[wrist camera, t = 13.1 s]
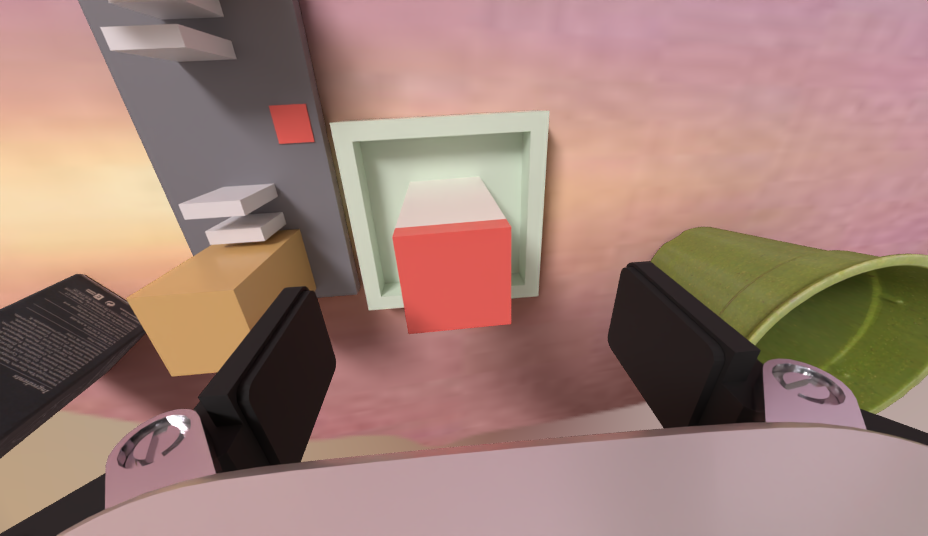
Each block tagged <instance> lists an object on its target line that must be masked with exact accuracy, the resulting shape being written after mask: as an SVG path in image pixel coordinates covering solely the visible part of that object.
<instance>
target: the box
mask: <svg viewBox="0 0 928 536" xmlns="http://www.w3.org/2000/svg"><path fill="white" fill-rule="evenodd" d="M145 333H146V332H145V330H144V328H143V327H142V325H141V323H140V322H139V320H138V318H137V316H136V315H135V313H134V311H133V310H132V308H131V306H130V305H129V303H128V302H127V301H125V300H123V299H122V298H120V297H119V296H117V295H115V294H114V293H112V292H111V291H109V290H107V289H106V288H104V287H102V286H101V285H99V284H98V283H96V282H94V281H93V280H91V279H89V278H88V277H87V276H85V275H83V274H75V275H73V276H71V277H69V278H67V279H64V280H62V281H60V282H58V283H56V284H54V285H52V286H49V287H47V288H45V289H43V290H41V291H39V292H37V293H35V294H32V295H30V296H28V297H26V298H24V299H22V300H19V301H17V302H15V303H13V304H11V305H9V306H6V307H4V308H2V309H0V458H2V457H3V456H4V455H5V454H6V453H8V452H9V451H10V450H11V449H13V448H14V447H15V446H16V445H18V444H19V443H20V442H21V441H23V440H24V439H25V438H26V437H27V436H28V435H30V434H31V433H32V432H34V431H35V430H36V429H37V428H39V427H40V426H41V425H42V424H43V423H45V422H46V421H47V420H48V419H50V418H51V417H52V416H53V415H55V414H56V413H57V412H58V411H60V410H61V409H62V408H63V407H65V406H66V405H67V404H68V403H69V402H71V401H72V400H73V399H74V398H76V397H77V396H78V395H79V394H81V393H82V392H83V391H84V390H86V389H87V388H88V387H90V386H91V385H92V384H93V383H95V382H96V381H97V380H98V379H100V378H101V377H102V376H103V375H104V374H106V373H107V372H108V371H109V370H110V369H111V368H112V367H113V366H114V365H115V364H116V363H117V362H118V361H119V360H120V359H121V358H122V357H123V356H124V355H125V354H126V353H127V352H128V350H129V349H130V348H131V347H132V346H133V345H134V344H135V343H136V342H137V341H138V340H139V339H140V338H141V337H142V336H143V335H144V334H145Z"/></svg>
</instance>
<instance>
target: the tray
mask: <svg viewBox="0 0 928 536" xmlns="http://www.w3.org/2000/svg"><path fill="white" fill-rule="evenodd" d="M548 126H549V111H544V110H531V111H513V112H495V113H477V114H459V115H441V116H422V117H404V118H386V119H368V120H350V121H338V122H332V123H330V127H331V132H332V137H333V142H334V146H335V151H336V156H337V161H338V166H339V170H340V175H341V180H342V185H343V189H344V194H345V199H346V204H347V208H348V213H349V218H350V223H351V228H352V232H353V237H354V242H355V247H356V251H357V256H358V261H359V266H360V271H361V275H362V280H363V285H364V290H365V294H366V299H367V304H368V309H369V310H380V309H392V308H404V304H403V298H402V292H401V286H400V280H399V274H398V268H397V263H396V257H395V251H394V245H393V239H392V236H393V233H394V230H395V227H396V224H397V221H398V218H399V214H400V211H401V208H402V205H403V202H404V199H405V196H406V193H407V190H408V186H409V183H410V182H414V181H427V180H439V179H452V178H465V177H477V176H479V177H480V178H481V180H482V181H483V183H484V184H485V186H486V188H487V189H488V191H489V192H490V194H491V195H492V197H493V199H494V200H495V202H496V203H497V205H498V207H499V208H500V210H501V211H502V213H503V214H504V216H505V218H506V219H507V221H508V222H509V224H510V226H511V298H523V297H535V296H538V292H539V276H540V259H541V243H542V226H543V209H544V193H545V176H546V159H547V143H548Z"/></svg>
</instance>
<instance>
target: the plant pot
mask: <svg viewBox="0 0 928 536" xmlns="http://www.w3.org/2000/svg"><path fill="white" fill-rule="evenodd" d="M651 262H652V263H653V264H654V265H656V266H657V267H658V268H659V269H661V270H662V271H663V272H664V273H666V274H667V275H668V276H669V277H671V278H672V279H673V280H674V281H676V282H677V283H678V284H679V285H681V286H682V287H683V288H684V289H686V290H687V291H688V292H689V293H690V294H692V295H693V296H694V297H695V298H697V299H698V300H699V301H700V302H702V303H703V304H704V305H705V306H707V307H708V308H709V309H710V310H712V311H713V312H714V313H715V314H717V315H718V316H719V317H720V318H722V319H723V320H724V321H725V322H726V323H728V324H729V325H730V326H731V327H733V328H734V329H735V330H736V331H738V332H739V333H740V334H741V335H743V336H744V337H745V338H746V339H748V340H749V341H750V342H751V343H753V344H754V345H755V346H756V347H758V348H759V349H760V350H761V351H760V353H759V355H758V357H757V359H758V360H759V361H760V362H761V363H762V364H764V363H766V362H767V361H769V360H772V359H778V358H779V359H791V360H795V361H799V362H803V363H806V364H809V365H812V366H814V367H817V368H819V369H821V370H823V371H825V372H827V373H829V374H831V375H832V376H834V377H835V378H837V379H838V380H840V381H841V382H843V383H844V384H845V385H846V386H847V387H848V388H849V389H850V390H851V391H852V393H853V394H854V396H855V398H856V400H857V403H858V405H859V408H860V409H863V410H865V411H868V412H871V413H874V414H877V413H879V412H880V411H882V410H884V409H885V408H887V407H888V406H890V405H891V404H893V403H894V402H896V401H897V400H898V399H900V398H902V397H903V396H904V395H905V394H906V393H907V392H908V391H909V390H911V389H912V388H913V387H915V386H916V385H918V384H919V383H920V382H921V381H922V380H923V379H924V378H925V377H926V376H927V375H928V255H923V254H896V255H888V256H882V257H878V256H872V255H867V254H862V253H856V252H850V251H840V250H832V251H827V250H822V249H817V248H812V247H807V246H802V245H797V244H792V243H787V242H782V241H777V240H772V239H767V238H762V237H757V236H752V235H747V234H742V233H737V232H732V231H727V230H722V229H717V228H712V227H698V228H692V229H689V230H686V231H684V232H683V233H682V234H680V235H679V236H678V237H676V238H674V239H673V240H671V241H669V242H667V243H665V244H664V245H663V246H662V247H661V248H660V249H659V250H658V251H657V253H656V254H655V255H654V257H653V258H652V260H651Z"/></svg>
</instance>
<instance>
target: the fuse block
mask: <svg viewBox="0 0 928 536" xmlns="http://www.w3.org/2000/svg"><path fill="white" fill-rule="evenodd" d="M78 1H79V4H80V6H81V8H82V10H83V13H84V15H85V17H86V19H87V21H88V24H89V26H90V28H91V30H92V32H93V35H94V37H95V39H96V41H97V44H98V46H99V48H100V50H101V52H102V55H103V57H104V59H105V61H106V64H107V66H108V68H109V70H110V72H111V75H112V77H113V79H114V81H115V83H116V86H117V88H118V90H119V92H120V95H121V97H122V99H123V101H124V103H125V106H126V108H127V110H128V112H129V115H130V117H131V119H132V121H133V123H134V126H135V128H136V130H137V132H138V134H139V137H140V139H141V141H142V143H143V146H144V148H145V150H146V152H147V154H148V157H149V159H150V161H151V163H152V166H153V168H154V170H155V172H156V174H157V177H158V179H159V181H160V183H161V185H162V188H163V190H164V192H165V194H166V197H167V199H168V201H169V203H170V205H171V208H172V210H173V212H174V214H175V217H176V219H177V221H178V223H179V225H180V228H181V230H182V232H183V234H184V236H185V239H186V241H187V243H188V245H189V248H190V250H191V252H192V254H193V257H191V258H190V259H188V260H187V261H185V262H183V263H182V264H180V265H179V266H177V267H175V268H174V269H172V270H171V271H169V272H167V273H166V274H164V275H163V276H161V277H159V278H158V279H156V280H155V281H153V282H151V283H150V284H148V285H147V286H145V287H143V288H142V289H140V290H139V291H137V292H135V293H134V294H132V295H131V296H129V297H127V298H126V299H127V301H128V303H129V305H130V306H131V308H132V310H133V311H134V313H135V315H136V316H137V318H138V320H139V322H140V323H141V325H142V327H143V328H144V330H145V332H146V333H147V335H148V337H149V339H150V340H151V342H152V344H153V345H154V347H155V349H156V351H157V352H158V354H159V356H160V357H161V359H162V361H163V362H164V364H165V366H166V368H167V369H168V371H169V373H170V374H171V376H182V375H193V374H204V373H215V372H218V371H219V370H220V369H221V367H222V366H223V365H224V363H225V362H226V361H227V360H228V358H229V357H230V356H231V355H232V353H233V352H234V351H235V350H236V348H237V347H238V346H239V344H240V343H241V342H242V341H243V339H244V338H245V337H246V336H247V334H248V333H249V332H250V331H251V329H252V328H253V327H254V325H255V324H256V323H257V322H258V320H259V319H260V318H261V317H262V315H263V314H264V313H265V312H266V310H267V309H268V308H269V306H270V305H271V304H272V303H273V301H274V300H275V299H276V298H277V296H278V295H279V294H280V292H281V291H282V290H283V289H284V288H286V287H299V286H306V287H308V289H309V290H313V291H314V292H315V293H316V296H317V298H320V297H332V296H344V295H357V294H358V292H359V289H360V284H359V280H358V275H357V270H356V266H355V261H354V257H353V252H352V247H351V243H350V238H349V233H348V229H347V224H346V219H345V215H344V210H343V205H342V201H341V196H340V192H339V187H338V182H337V178H336V173H335V168H334V164H333V159H332V154H331V150H330V145H329V141H328V136H327V131H326V127H325V122H324V117H323V113H322V108H321V103H320V99H319V94H318V89H317V85H316V80H315V76H314V71H313V66H312V62H311V57H310V52H309V48H308V43H307V38H306V34H305V29H304V25H303V20H302V15H301V11H300V6H299V1H298V0H78Z"/></svg>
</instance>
